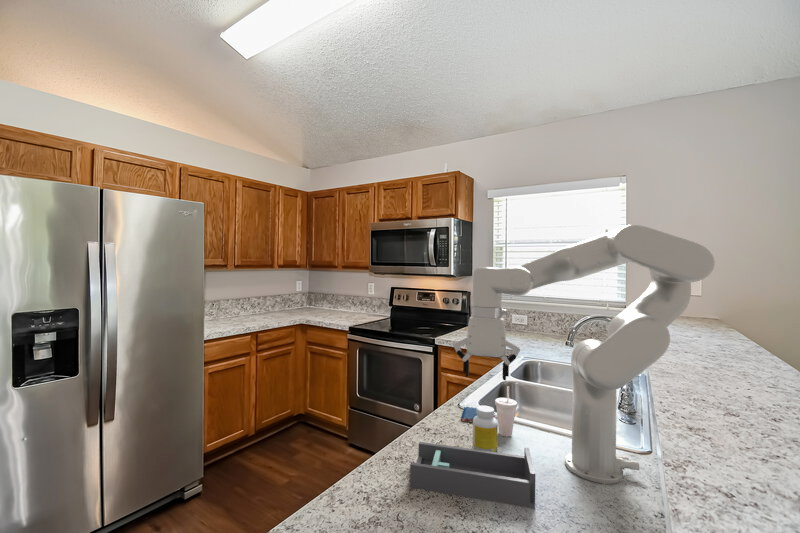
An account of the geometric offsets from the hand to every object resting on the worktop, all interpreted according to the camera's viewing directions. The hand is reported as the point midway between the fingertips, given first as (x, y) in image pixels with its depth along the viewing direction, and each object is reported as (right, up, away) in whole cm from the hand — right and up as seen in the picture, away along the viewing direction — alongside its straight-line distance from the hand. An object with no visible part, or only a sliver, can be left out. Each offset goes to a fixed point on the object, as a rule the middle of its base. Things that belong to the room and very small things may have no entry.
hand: (485, 377), depth 94 cm
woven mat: (+3, -21, +22) cm, 31 cm away
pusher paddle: (-13, -18, -13) cm, 26 cm away
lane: (-7, -20, -14) cm, 25 cm away
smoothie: (+9, -21, +11) cm, 25 cm away
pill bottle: (0, -20, 0) cm, 20 cm away
